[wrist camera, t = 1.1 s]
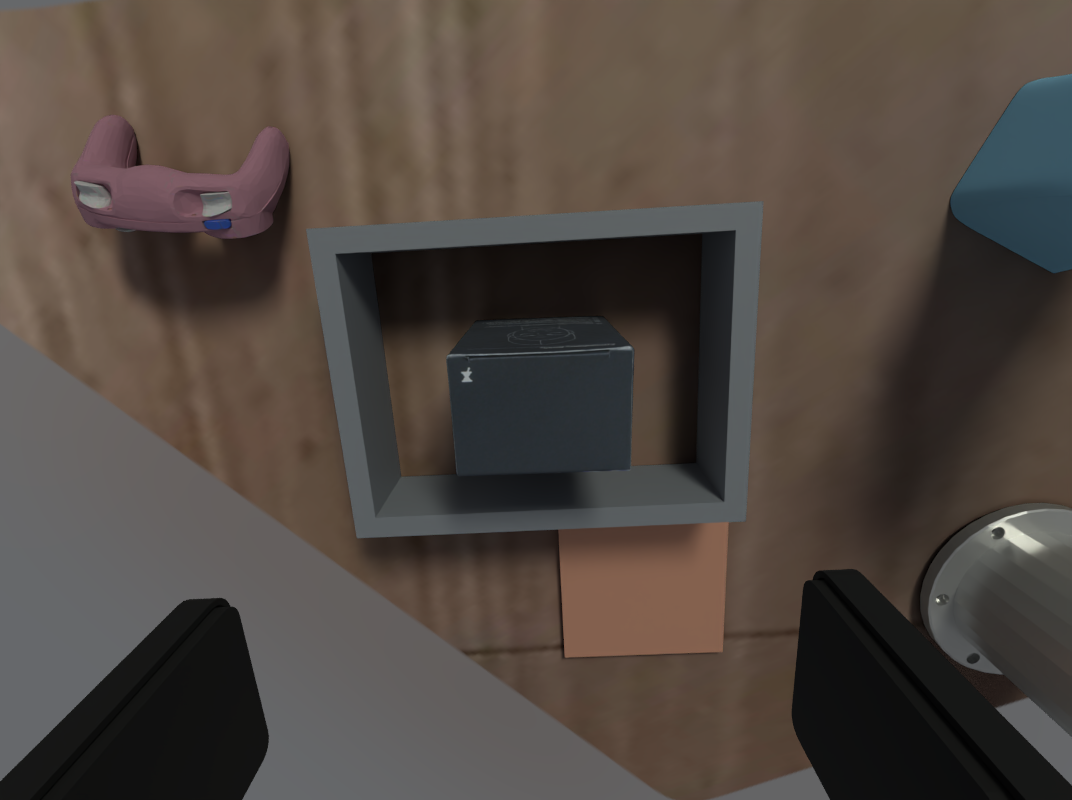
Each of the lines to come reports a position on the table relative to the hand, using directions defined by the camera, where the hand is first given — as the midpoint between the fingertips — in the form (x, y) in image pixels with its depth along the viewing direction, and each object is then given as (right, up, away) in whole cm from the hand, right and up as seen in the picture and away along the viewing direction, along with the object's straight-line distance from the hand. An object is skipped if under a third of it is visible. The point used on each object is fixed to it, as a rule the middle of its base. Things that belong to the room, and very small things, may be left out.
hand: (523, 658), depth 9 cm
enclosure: (+1, +7, +24) cm, 25 cm away
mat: (+7, -8, +28) cm, 30 cm away
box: (+1, +7, +24) cm, 25 cm away
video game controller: (-18, +17, +21) cm, 32 cm away
